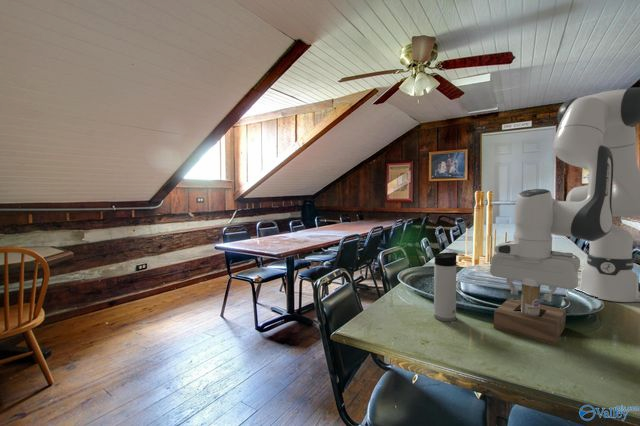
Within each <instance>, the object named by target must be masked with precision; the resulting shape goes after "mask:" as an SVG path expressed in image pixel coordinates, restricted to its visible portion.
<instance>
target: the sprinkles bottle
mask: <svg viewBox="0 0 640 426" xmlns="http://www.w3.org/2000/svg"><path fill="white" fill-rule="evenodd" d="M520 282H521V294H520V300H521V313H525V314H529V315H533V316H538V317H539V314H540V304H541V303H540V302H541V286H542V285H541V284H537V283H536V281H535V280H532V279H526V278H524V280H523V281H520Z"/></svg>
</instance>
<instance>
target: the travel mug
mask: <svg viewBox="0 0 640 426" xmlns="http://www.w3.org/2000/svg"><path fill="white" fill-rule="evenodd" d="M458 256H459V255H458V253H457V252H439V253H437V254H435V255H434V266H433V269H434V271H433V273H434V274H433V282H434V283H433V287H434V288H433V289H434V290H433V291H434V292H433V316H434V318H435V319H437V320H438V321H441V322H454V321H456V319H457V271H458V270H457V257H458Z"/></svg>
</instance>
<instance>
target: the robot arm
mask: <svg viewBox="0 0 640 426" xmlns="http://www.w3.org/2000/svg"><path fill="white" fill-rule="evenodd" d="M556 119H557V123H558V127H557V130H556V133H555V135H554V140H553V142H552V151H553V153H554V155H555V156H556V157H557V158H558V159H559V160H560V161H562V162H564V163H566V164H568V165H570V166H574V167H577V168H580V169H584V170H587V171H588V183H587V185H586V184H585V185H580V186H575V187H573V188H572V189H570V190H569V192H568V193H567V195H566V198H565V200H557V199H555V198H553V195H552V191H550V190H549V189H546V188H545V189H543V188H532V189H526V190H523V191H521V192H519V193H518V194H517V197H516V200H515V206H514V218H513V223H514V227H515V229H514V233H513V240H510V241H505V242H501V243H498V244H496V245H495V246H494V249H493V250H494V252H495V253H494V254H493V255H492V257H491V260H490V266H489V267H490V268H489V273H490V275H491V276H493V277H494V278H499V279H500V278H502V279H505V280H506V283H507V285H508V287H509V289H510V295H513V296H518V295H519V288H518V287H516V286H515V284H514V282H515V281H518V282H521V281H523V280H524V278H526V279H532V280H535V281H536V283H537V284H541V286H548V290H549V291H550V292H549V293H544V294H543V299H542V301H543V302H547V303H551V302H552V295H554V294H555V292H556V291H557V290H558V288H559V289H565V290H570V291H572V290H574V289H575V288H577V289H580V290H582V291H585V292H587V293H590V294H592V295H594V296H596V297H598V298H597V299H599V300H605V301H609V302H619V303H633V302H634V303H636V302H637V303H638V302H639V303H640V291H639V290H640V286H639V275H637V273H636V272H634V271H633V269H634V265H635V261H634V257H633V247H634V246H633V244H634V243H633V242H634V238H633V235H632V234H631V232H629V231H628V230H627V229H624V228H623V227H621V226H619V225H616V224H614V223H613V217H619V218H620V217H621V218H622V217H623V218H640V168H639V164H638V158H637V130H636V126H637V125H638V124H640V87H628V88H623V89H614V90H613V89H612V90H605V91H601V92H599V93H594V94H588V95H585V96H581V97H574V98H572V99H569V100H566V101H565V102H563V104H561V106H560V107H559V109H558V111H557V118H556ZM613 183H614V184H613ZM552 235H554V236H561V237H569V238H575V239H577V240H578V239H579V240H585V241H588V242H589V251H588V252H589V253H588V254H587V256H586V266H584V267H583V268H581V260H580V257H578V256H577V255H576V254H574V253H572V252H562V251H555V250H553V236H552ZM580 269H581V272H580V283H579V275H578V270H580Z"/></svg>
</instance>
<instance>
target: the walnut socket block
mask: <svg viewBox="0 0 640 426" xmlns="http://www.w3.org/2000/svg"><path fill="white" fill-rule="evenodd" d="M513 299H514V298H512V299H509V298H507V299H506V300H505V301H504V302H503V303H502V304H500V305H499V306H498V307H497V308H496V309H495V310H494V311H493V329H495V330H499V331H503V332H505V333H506V332H507V333H510V334H513V335H517V336H519V337H524V338H527V339H531V340H535V341H538V342H542V343H544V344H545V343H546V344H548V345H552V346H556V344H557V342H558V340H559V338H560V337H561V336H562V333H563V331H564V330H565V328H566V316H567V315H566V313H567V310H566V309H564V308H559V307H555V306H550V305H545V304H541V303H540V314H541V315H539V317H538V316H533V315H529V314H525V313H521V312H517V310H518V309H521V299H517V300H513Z"/></svg>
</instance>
